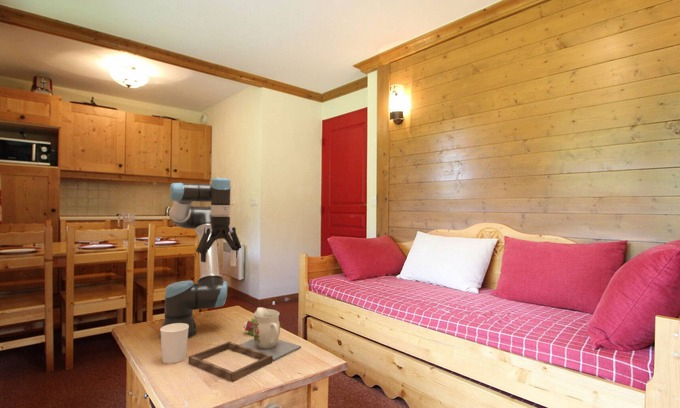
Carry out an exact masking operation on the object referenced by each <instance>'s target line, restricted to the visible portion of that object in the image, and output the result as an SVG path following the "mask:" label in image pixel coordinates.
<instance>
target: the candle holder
mask: <svg viewBox="0 0 680 408" xmlns="http://www.w3.org/2000/svg"><path fill="white" fill-rule="evenodd" d="M161 327H162V326H161ZM161 327H160V329H159V332H160V331H161V338H160V347H161V348H160V349H161V361H162V362H163V363H164V364H166V365H167V364H168V365H170V364H177V363H180V362H182V361H185V360H186V359H187V355H188V354H187V353H188V352H187V351H188V343H189V342H188V341H189V338H188V329H189V325H188V324H184V323H175V324H169V325H166V326H163V327H162V328H161Z"/></svg>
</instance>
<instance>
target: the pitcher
mask: <svg viewBox="0 0 680 408" xmlns="http://www.w3.org/2000/svg"><path fill="white" fill-rule="evenodd" d="M279 316H280V311H278V310H276V309H270V308H265V307H263V306H262V307H260V306H259V307H257V308H256V310H255V312H254V313H253V317H254V319H255V321H254V325H253V339H254V340H255V342H256V344H257V345H258V347H259V348H263V349H267V348H272V347H274V345H275V344H276V342H277V341H278V340H279V337H280V334H281V324H280V323H281V322H280V319H279V318H280V317H279Z"/></svg>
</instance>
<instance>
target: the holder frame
mask: <svg viewBox="0 0 680 408" xmlns="http://www.w3.org/2000/svg"><path fill="white" fill-rule="evenodd" d="M229 350H230V351H232V352H235V353H238V354H241V355H244V356H247V357H250V358H253V359H257V360H256V361H254V362H251V363H249V364H247V365H245V366H243V367H241V368H238V369H236V370H234V371H232V370H229V369H227V368H224V367H221V366H220V365H217V364H215V363H212V362H209V361H207V360H205V359H208V358H210V357H213V356H215V355H218V354H220V353H223V352H225V351H229ZM272 363H273V361H272V355H269V354H266V353H263V352H260V351H257V350H254V349H251V348H248V347H245V346H241V345H239V344H238V343H235V342H232V341H227V342H223V343H222V344H218V345H216V346H213V347H211V348H208V349H205V350H203V351H200V352H198V353H195V354H192V355H189V356H188V363H187V364H189V365H191V366H194V367H196V368H199V369H201V370H203V371H206V372H208V373H210V374H213V375H215V376H218V377H220V378H223V379H224V380H227V381H229V382H232V383H233V382H235V381H237V380H239V379H241V378H244V377H246V376H248V375H250V374H252V373H254V372H256V371H257V370H260V369H262V368H264V367H266V366H268V365H270V364H272Z"/></svg>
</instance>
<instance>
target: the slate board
mask: <svg viewBox="0 0 680 408" xmlns="http://www.w3.org/2000/svg"><path fill="white" fill-rule="evenodd" d="M238 345H241V346H245V347H248V348H251V349H254V350H257V351H260V352H263V353H266V354H269V355H272V362H275V361H277V360H279V359H282V358H284V357H286V356H288V355H290V354H292V353H295V352H296V351H298V350H300V349H302V345H299V344H296V343H292V342H289V341H285V340H281V339H278V341H277V342H276V344H275V345H274V347H272V348H267V349H263V348H259V347H258V345H257V344H256V342H255V340H254V338H252V339H250V340H248V341H244V342H242V343H239V344H238Z"/></svg>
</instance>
